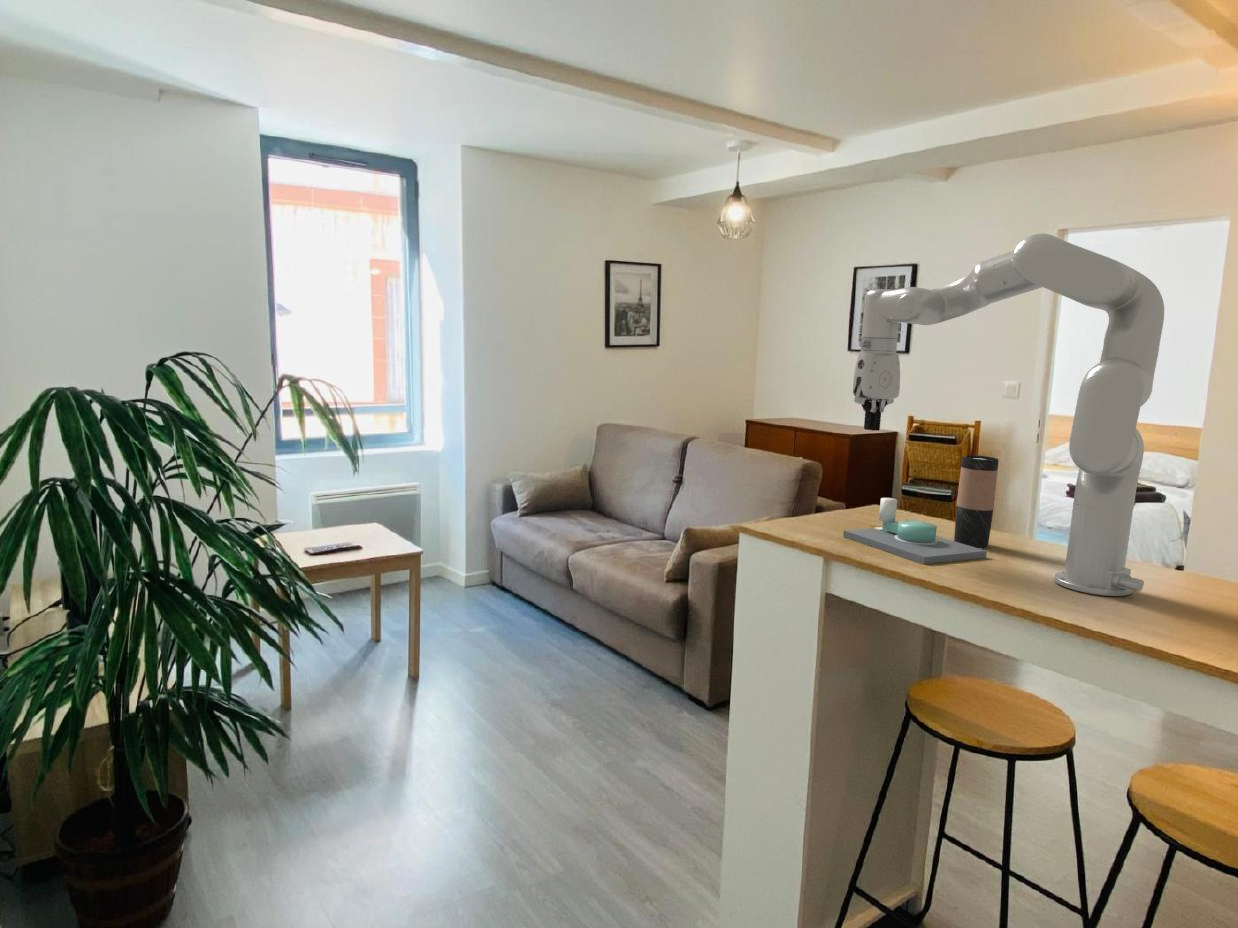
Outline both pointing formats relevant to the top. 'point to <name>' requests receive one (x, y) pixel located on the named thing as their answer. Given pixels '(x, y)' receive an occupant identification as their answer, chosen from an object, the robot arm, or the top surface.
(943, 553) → the base plate
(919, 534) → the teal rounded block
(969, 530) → the travel mug
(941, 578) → the top surface
